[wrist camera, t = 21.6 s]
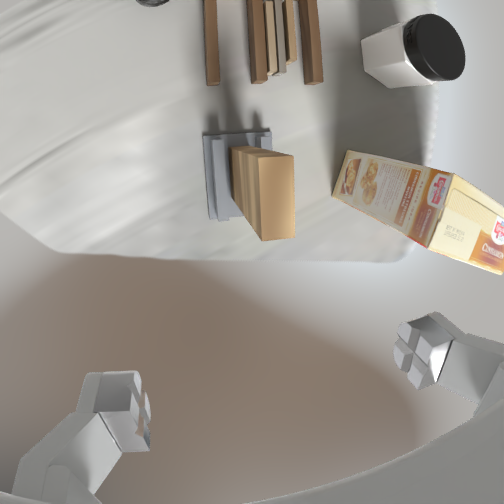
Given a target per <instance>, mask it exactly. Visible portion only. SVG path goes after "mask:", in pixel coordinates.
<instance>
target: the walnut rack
mask: <svg viewBox="0 0 504 504" xmlns="http://www.w3.org/2000/svg"><path fill="white" fill-rule="evenodd" d="M295 1H298V4H299V15H300V26H301V39H302V52H303V67H304V84H305V85H315V84H318V83H321V82H323V68H322V54H321V41H320V30H319V19H318V9H317V0H295ZM203 2H204V33H205V57H206V78H207V86H214V85H218V84H219V82H220V72H219V51H218V29H217V4H216V0H203ZM247 15H248V32H249V49H250V67H251V84H262V83H264V82H265V81H267V80H268V76H267V59H266V43H265V27H264V13H263V0H247Z"/></svg>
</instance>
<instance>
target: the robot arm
mask: <svg viewBox="0 0 504 504" xmlns="http://www.w3.org/2000/svg"><path fill="white" fill-rule="evenodd" d="M397 334H398V335H399V339H398V340H397V341H396V343H395V345H394V350H393V355H394V360H395V363H396V365H397V366H398V367H399V369H400V370H402V371H405V372H407V378H408V379H409V381H410V382H411V383H412V384H413V385H414V387H415V388H416V389H417V390H420V389H422V388H425V387H427V386H429V385H432V384H435V383H437V384H438V385H440V386H442V387H444V388H446V389H448V390H450V391H452V392H454V393H456V394H458V395H460V396H462V397H464V398H466V399H468V400H470V401H472V402H474V403H476V404H478V407H477V409H476V411H475V412H474V415H473V418H471V419H470V420H468V421H467V422H465V423H463V424H462V425H460V426H458V427H457V428H455V429H453V430H451V431H450V432H448V433H446V434H444V435H442V436H440V437H439V438H437V439H435V440H433V441H431V442H429V443H427V444H425V445H423V446H421V447H419V448H417V449H415V450H413V451H411V452H409V453H407V454H404V455H402V456H400V457H398V458H395V459H393V460H391V461H388V462H386V463H384V464H381V465H379V466H376V467H374V468H371V469H369V470H366V471H363V472H361V473H358V474H355V475H353V476H349V477H346V478H344V479H341V480H338V481H334V482H331V483H328V484H325V485H321V486H319V487H315V488H311V489H307V490H304V491H300V492H296V493H292V494H288V495H284V496H280V497H275V498H270V499H265V500H260V501H255V502H249V503H243V504H504V344H503V343H499V342H496V341H492V340H489V339H486V338H482V337H478V336H475V335H472V334H465V333H463V332H462V331H461V330H460V329H459V328H457V327H456V326H455V325H454V324H453V323H451V322H450V321H449V320H448V319H447V318H445V317H444V316H443V315H442V314H441V313H438V312H433V313H430V314H427V315H425V316H422V317H419V318H415V319H412V320H409V321H405V322H402V323H401V324H400V326H399V328H398V332H397ZM150 418H151V414H150V405H149V401H148V397H147V394H146V391H144V390H143V389H141V378H140V375H139V373H138V372H137V371H115V372H93V373H92V372H89V373H88V374H87V375H86V376H85V380H84V383H83V387H82V390H81V394H80V398H79V401H78V405H77V409H76V413H70V414H69V415H68V416H67V417H66V418H65V419H64V420H62V421H61V422H60V423H59V424H58V425H57V426H56V427H55V428H54V429H53V430H51V431H50V432H49V433H48V434H47V435H46V436H45V437H44V438H43V439H42V440H41V441H39V442H38V443H37V444H36V445H35V446H34V447H33V448H32V449H31V450H30V451H29V452H27V453H26V454H25V455H24V456H23V457H22V458H21V460H20V463H19V466H18V470H17V474H16V478H15V482H14V486H13V490H12V494H7V493H4V492H0V504H102V503H101V502H100V501H99V500H98V499H97V498H96V497H95V496H94V494H95V492H96V491H97V489H98V488H99V486H100V485H101V484H102V482H103V481H104V479H105V478H106V476H107V475H108V473H109V472H110V471H111V469H112V468H113V466H114V465H115V464H116V462H117V461H118V459H119V458H120V456H121V455H122V453H121V452H139V451H150V432H149V429H148V427H147V425H148V423H149V422H150Z"/></svg>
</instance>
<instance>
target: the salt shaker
mask: <svg viewBox="0 0 504 504" xmlns="http://www.w3.org/2000/svg"><path fill="white" fill-rule="evenodd" d="M136 1H137V2H138V3H139V4H141V5H144V6H148V7H154V6H159V5H163V4H164V3H166V2H168V1H169V0H136Z"/></svg>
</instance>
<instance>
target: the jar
mask: <svg viewBox="0 0 504 504" xmlns="http://www.w3.org/2000/svg"><path fill="white" fill-rule="evenodd" d="M361 48H362V56H363V65H364V71H365V72H367V73H368V74H369V75H371V76H372V77H374V78H375V79H377V80H378V81H379V82H381V83H382V84H383V85H385V86H386V87H387V88H399V87H409V86H420V85H432V84H434V83H436V82H437V81H448V80H454V79H456V78H458V77H459V76H460V75H461V74H462V72H463V70H464V66H465V51H464V47H463V44H462V41H461V39H460V37H459V35H458V33H457V32H456V30H455V29H454V28H453V26H452V25H451V24H450V23H449V22H448V21H447V20H445V19H444V18H442V17H440V16H438V15H435V14H425V15H420V16H417V17H415V18H413V19H411V20H408V21H405V22H402V23H397V24H394V25H392V26H389V27H387V28H384V29H382V30H381V31H378V32H376V33H374V34H372V35H370V36H368V37H366V38H364V39H362V40H361Z"/></svg>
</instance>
